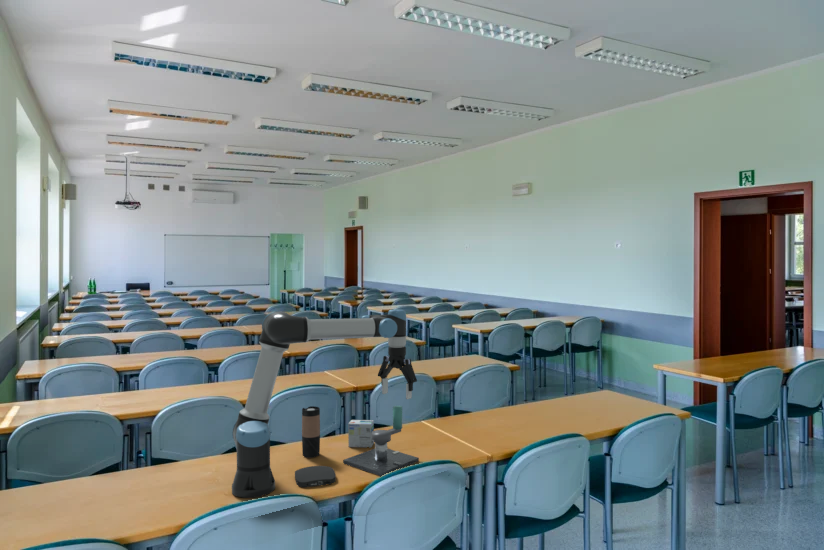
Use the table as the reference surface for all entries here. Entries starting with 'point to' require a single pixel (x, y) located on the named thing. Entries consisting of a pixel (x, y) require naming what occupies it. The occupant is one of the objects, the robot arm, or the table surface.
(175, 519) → the table surface
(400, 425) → the crank handle
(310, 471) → the media streaming box
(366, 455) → the post base
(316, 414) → the travel mug
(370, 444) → the light bulb box
